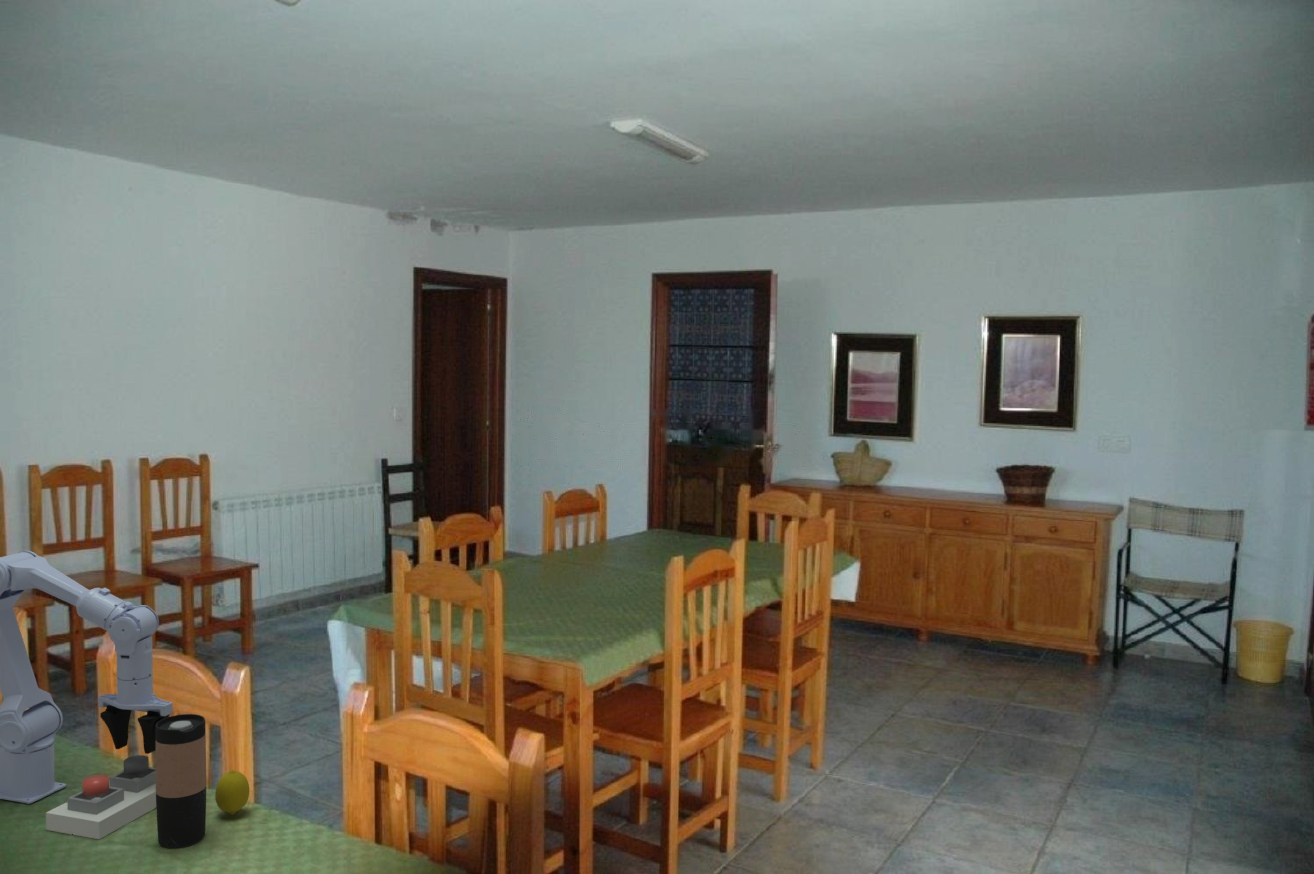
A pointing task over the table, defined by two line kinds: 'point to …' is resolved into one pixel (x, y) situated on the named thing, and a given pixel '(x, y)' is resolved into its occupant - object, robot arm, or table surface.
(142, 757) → the grey button
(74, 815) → the button panel
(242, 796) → the lemon
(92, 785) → the red button
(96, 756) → the table surface
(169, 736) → the travel mug
